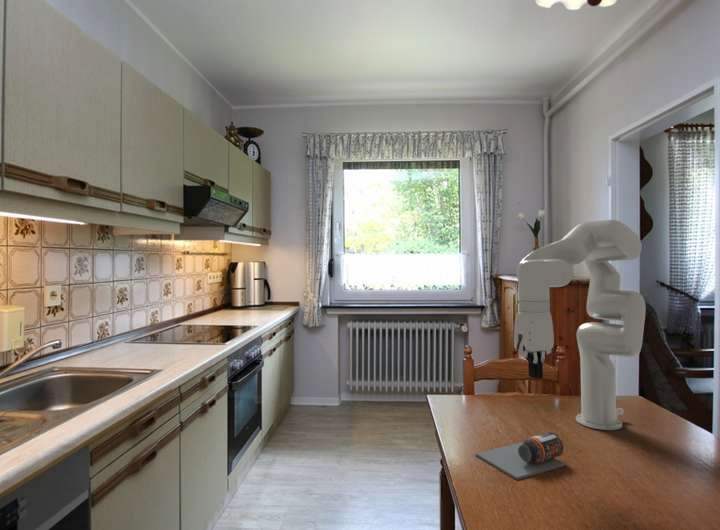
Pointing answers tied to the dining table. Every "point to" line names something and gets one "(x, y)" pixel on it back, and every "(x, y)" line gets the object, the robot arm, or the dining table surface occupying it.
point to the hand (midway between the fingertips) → (535, 377)
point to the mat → (516, 462)
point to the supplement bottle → (541, 448)
